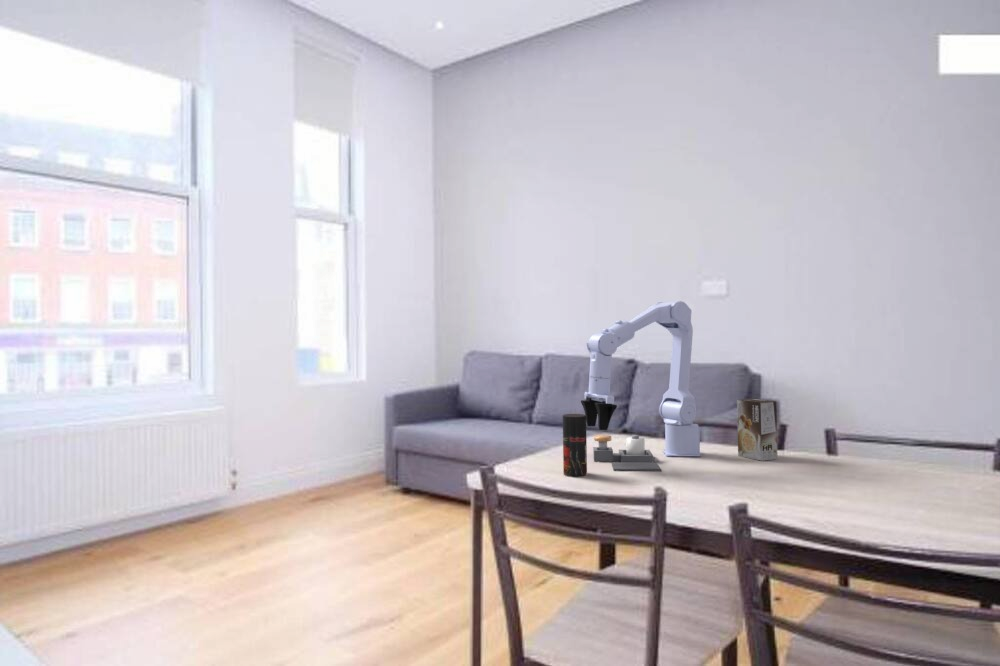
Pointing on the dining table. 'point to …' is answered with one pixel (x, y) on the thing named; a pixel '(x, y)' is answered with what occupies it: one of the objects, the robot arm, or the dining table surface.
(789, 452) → the dining table surface
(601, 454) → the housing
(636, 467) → the mat
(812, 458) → the dining table surface
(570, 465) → the deodorant
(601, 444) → the plunger
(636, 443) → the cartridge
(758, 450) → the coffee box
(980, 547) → the dining table surface
